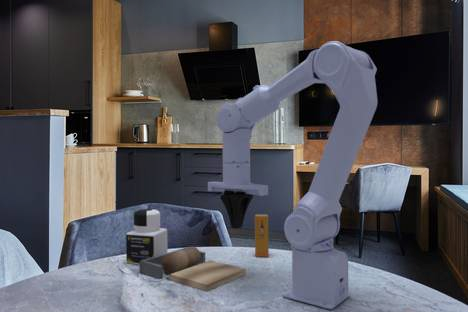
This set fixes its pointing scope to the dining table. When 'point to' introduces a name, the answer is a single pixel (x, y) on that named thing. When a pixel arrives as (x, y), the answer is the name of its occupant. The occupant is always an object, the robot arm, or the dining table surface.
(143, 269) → the gray u-shaped frame
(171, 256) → the roller
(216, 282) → the tan flat square slab
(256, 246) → the supplement box
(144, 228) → the medicine bottle
